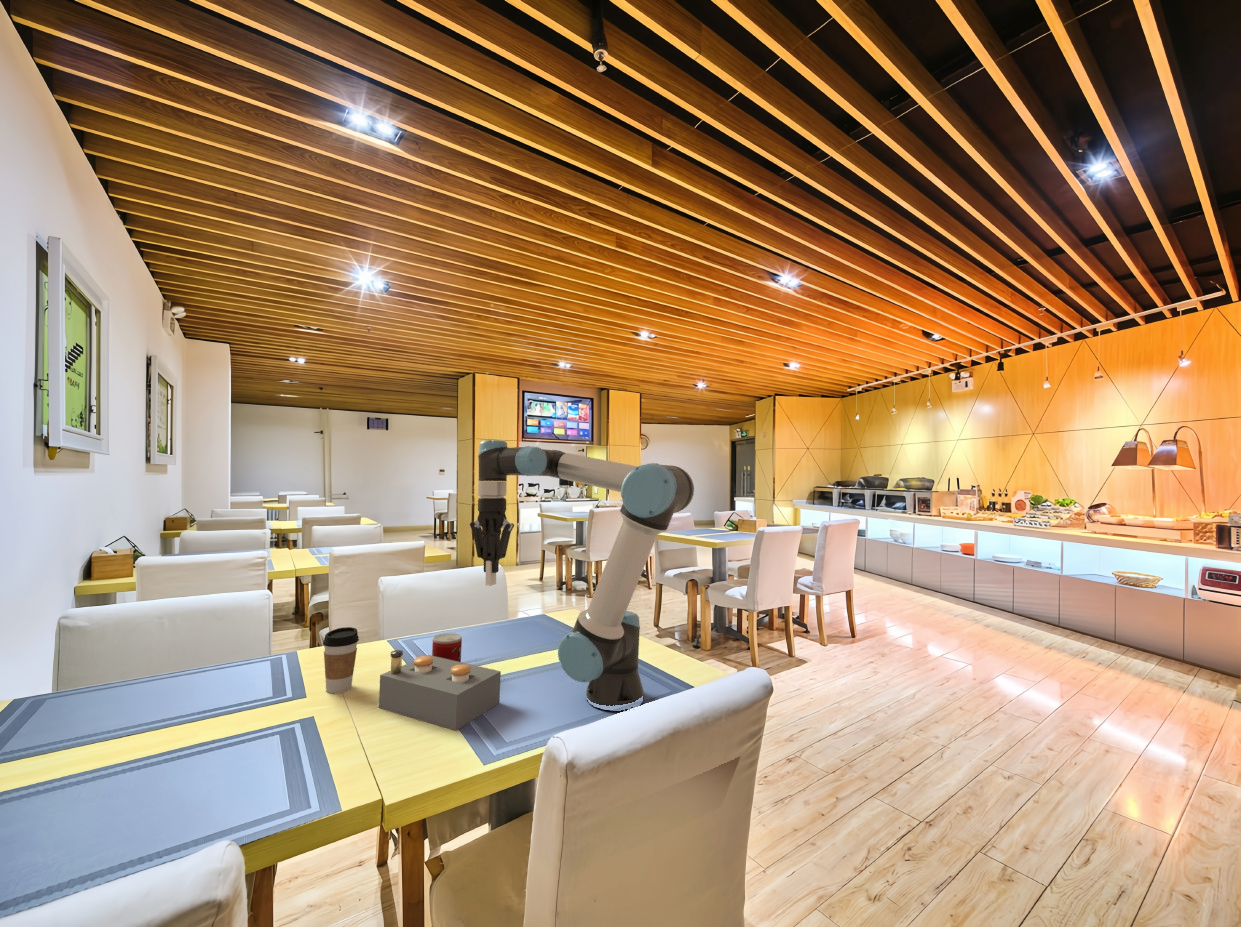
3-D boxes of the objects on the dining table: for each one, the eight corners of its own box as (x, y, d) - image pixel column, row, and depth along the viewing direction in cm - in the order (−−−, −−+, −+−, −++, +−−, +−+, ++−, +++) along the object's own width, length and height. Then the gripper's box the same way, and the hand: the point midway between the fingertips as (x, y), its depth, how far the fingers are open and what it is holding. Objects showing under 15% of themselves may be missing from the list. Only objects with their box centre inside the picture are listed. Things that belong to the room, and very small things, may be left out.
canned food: (455, 681, 143) (456, 642, 143) (426, 680, 143) (428, 640, 143) (464, 671, 151) (465, 633, 151) (436, 670, 151) (438, 632, 151)
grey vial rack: (499, 703, 131) (500, 671, 131) (455, 730, 116) (457, 695, 116) (427, 684, 140) (428, 655, 141) (378, 707, 126) (380, 674, 126)
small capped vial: (404, 671, 129) (405, 651, 129) (396, 675, 126) (396, 654, 126) (395, 669, 130) (396, 649, 130) (387, 673, 127) (388, 653, 127)
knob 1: (436, 689, 132) (437, 658, 132) (422, 696, 128) (423, 663, 128) (422, 685, 134) (423, 654, 134) (408, 692, 130) (410, 660, 130)
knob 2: (473, 699, 127) (474, 666, 127) (460, 706, 123) (461, 672, 123) (458, 695, 129) (460, 663, 129) (445, 702, 125) (447, 669, 125)
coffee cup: (363, 683, 140) (365, 628, 140) (343, 696, 131) (346, 637, 132) (334, 681, 140) (336, 626, 141) (312, 694, 132) (315, 635, 132)
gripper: (520, 497, 141) (519, 584, 140) (480, 496, 146) (479, 580, 145) (504, 498, 134) (503, 589, 133) (463, 497, 139) (462, 585, 138)
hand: (490, 584), depth 139 cm, fingers closed
